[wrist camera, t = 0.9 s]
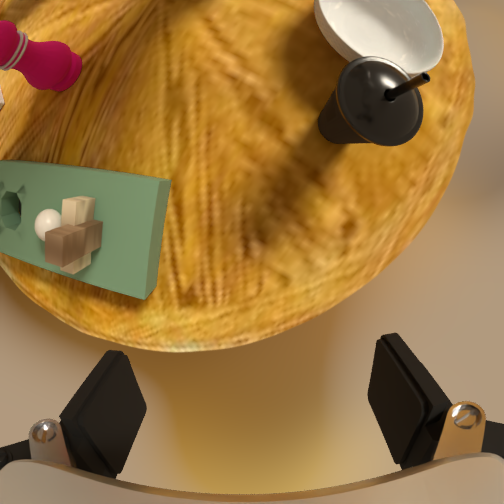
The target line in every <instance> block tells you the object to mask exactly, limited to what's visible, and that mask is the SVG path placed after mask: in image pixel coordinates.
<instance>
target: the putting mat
mask: <svg viewBox="0 0 504 504" xmlns="http://www.w3.org/2000/svg"><path fill="white" fill-rule="evenodd" d="M170 185H171V180H168V179H162V178H156V177H150V176H144V175H138V174H131V173H125V172H118V171H111V170H104V169H96V168H89V167H81V166H72V165H63V164H54V163H44V162H34V161H22V160H0V252H1V253H4V254H6V255H9V256H12V257H14V258H17V259H19V260H22V261H25V262H27V263H30V264H33V265H35V266H38V267H41V268H44V269H46V270H49V271H52V272H55V273H58V274H61V275H64V276H67V277H70V278H73V279H76V280H79V281H82V282H85V283H88V284H92V285H95V286H98V287H101V288H105V289H108V290H111V291H115V292H118V293H122V294H125V295H129V296H132V297H136V298H140V299H143V300H145V299H146V298H147V297H148V295H149V294H150V293H151V292H152V291H153V289H154V288H155V287H156V284H157V275H158V266H159V257H160V249H161V242H162V235H163V228H164V221H165V215H166V208H167V202H168V197H169V191H170ZM78 196H87V197H92V198H95V207H94V218H93V219H94V220H98V221H103V228H102V240H101V247H99V248H97V249H96V250H94V251H92V252H91V264H90V265H88V266H86V267H85V268H83V269H82V270H80V271H78V272H77V273H75V274H74V275H73V274H70V273H67V272H64V271H61V270H60V267H59V266H56V265H53V264H50V263H47V262H45V241H43V240H41V239H40V238H39V237H38V236H37V234H36V232H35V220H36V218H37V216H38V214H39V213H40V212H42V211H43V210H45V209H54V210H56V211H57V212H59V213H60V215H62V201H63V199H67V198H73V197H78ZM19 212H20V214H19ZM20 215H21V216H20Z"/></svg>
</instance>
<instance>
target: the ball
mask: <svg viewBox="0 0 504 504" xmlns="http://www.w3.org/2000/svg"><path fill="white" fill-rule="evenodd" d="M58 227H61V215H60V213H59V212H57V211H56V210H54V209H45V210H43V211H42V212H40V213H39V214H38V216H37V218H36V220H35V232H36V234H37V236H38V237H39V238H40V239H41V240H43V241H45V232H46V231H49V230H52V229H55V228H58Z"/></svg>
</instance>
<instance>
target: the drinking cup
mask: <svg viewBox="0 0 504 504" xmlns="http://www.w3.org/2000/svg"><path fill="white" fill-rule="evenodd" d="M429 81H430V76H429V75H428V74H427V73H426V72H422V73H420V74H418V75H416V76H415V77H413V78H411V77H410V76H409V75H408V74H407V73H406V72H405V71H404V70H403V69H402V68H401V67H400V66H398V65H397V64H395V63H393V62H391V61H389V60H387V59H384V58H381V57H375V56H365V57H360V58H357V59H355V60H353V61H351V62H350V63H348V64H347V65H346V66H345V67H344V68H343V70H342V71H341V73H340V75H339V77H338V80H337V84H336V88H335V90H334V91H333V93H332V95H331V96H330V98H329V100H328V102H327V103H326V105H325V107H324V108H323V110H322V112H321V114H320V116H319V119H318V127H319V130H320V132H321V134H322V135H323V136H324V137H325V138H326V139H327V140H328V141H330V142H332V143H336V144H347V143H374V144H377V145H380V146H397V145H401V144H404V143H406V142H408V141H409V140H411V139H412V138H413V137H414V136H415V135H416V133H417V132H418V130H419V128H420V126H421V123H422V119H423V103H422V98H421V95H420V92H419V90H418V88H417V87H419V86H421V85H423V84H425V83H428V82H429Z"/></svg>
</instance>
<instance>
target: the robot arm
mask: <svg viewBox="0 0 504 504" xmlns="http://www.w3.org/2000/svg"><path fill="white" fill-rule="evenodd" d="M368 401H369V403H370V405H371V408H372V410H373V412H374V414H375V416H376V419H377V421H378V424H379V426H380V428H381V431H382V433H383V436H384V438H385V440H386V443H387V445H388V448H389V450H390V453H391V455H392V457H393V460H394V462H395V463H396V464H400V466H401V469H402V470H401V471H398V472H395V473H391V474H387V475H384V476H380V477H376V478H372V479H367V480H363V481H359V482H354V483H350V484H345V485H339V486H334V487H328V488H322V489H315V490H307V491H299V492H288V493H274V494H250V495H249V494H248V495H247V494H246V495H245V494H241V495H240V494H239V495H238V494H208V493H195V492H186V491H177V490H169V489H162V488H156V487H149V486H145V485H139V484H134V483H130V482H125V481H121V480H117V479H116V476H117V474H120V473H121V471H122V470H123V467H124V465H125V462H126V460H127V457H128V455H129V452H130V450H131V447H132V445H133V442H134V440H135V438H136V435H137V433H138V430H139V428H140V425H141V423H142V421H143V418H144V416H145V413H146V409H147V408H146V403H145V401H144V398H143V396H142V393H141V391H140V388H139V386H138V383H137V381H136V378H135V375H134V373H133V370H132V367H131V364H130V361H129V359H128V357H127V355H124V353H123V352H122V351H113V350H109V351H107V352H106V353H105V354H104V356H103V357H102V358H101V360H100V361H99V362H98V364H97V365H96V366H95V368H94V369H93V370H92V372H91V373H90V374H89V376H88V377H87V378H86V380H85V381H84V382H83V384H82V385H81V386H80V388H79V389H78V390H77V392H76V393H75V395H74V396H73V398H72V399H71V400H70V401H69V403H68V404H67V406H66V407H65V409H64V410H63V411H62V413H61V414H60V416H59V417H60V419H61V421H60V423H58V422H57V421H56V420H53V419H43V420H40V421H38V422H36V423H35V424H34V425H33V426H32V427H31V429H30V431H29V439H28V440H25V441H21V442H18V443H15V444H11V445H8V446H5V447H1V448H0V504H504V424H501V423H496V422H492V421H487V420H486V414H485V412H484V410H483V409H482V408H481V407H480V406H479V405H478V404H476V403H473V402H470V401H462V402H458V403H456V404H454V405H453V404H452V403H451V402H450V400H449V399H448V397H447V396H446V395H445V393H444V392H443V391H442V389H441V388H440V387H439V385H438V384H437V382H436V381H435V380H434V378H433V377H432V376H431V374H430V373H429V372H428V370H427V369H426V368H425V367H424V365H423V364H422V363H421V362H420V361H419V360H418V359H417V357H416V356H415V355H414V353H412V351H411V350H410V348H409V347H408V346H407V345H406V343H405V342H404V341H403V340H402V338H401V337H400V336H399V335H398V334H397V333H391V334H385V335H382V336H381V339H379V340H377V342H376V348H375V354H374V361H373V367H372V372H371V378H370V384H369V388H368Z"/></svg>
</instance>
